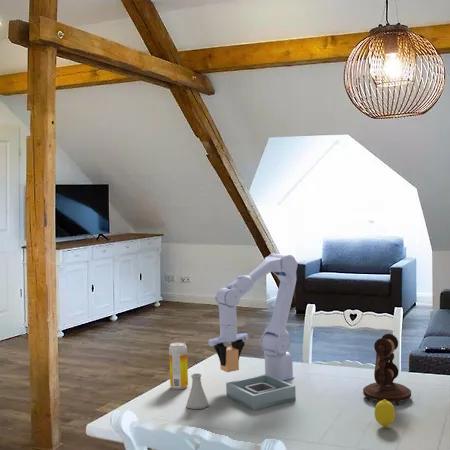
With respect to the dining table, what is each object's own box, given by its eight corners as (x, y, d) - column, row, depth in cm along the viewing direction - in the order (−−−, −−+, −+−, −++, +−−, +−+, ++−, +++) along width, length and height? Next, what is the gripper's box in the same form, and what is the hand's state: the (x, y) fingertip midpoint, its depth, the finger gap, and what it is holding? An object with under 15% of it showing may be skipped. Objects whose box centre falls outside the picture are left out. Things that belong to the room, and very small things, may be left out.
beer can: (189, 384, 227) (187, 341, 226) (186, 390, 221) (185, 346, 220) (172, 384, 227) (170, 342, 226) (169, 389, 221) (167, 346, 220)
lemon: (372, 424, 185) (371, 396, 184) (391, 423, 185) (390, 395, 185) (378, 431, 180) (378, 403, 179) (398, 430, 180) (397, 402, 179)
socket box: (266, 387, 221) (266, 374, 221) (295, 399, 208) (295, 385, 207) (226, 396, 213) (226, 382, 213) (253, 410, 199) (253, 395, 199)
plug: (231, 366, 222) (231, 346, 222) (238, 370, 218) (238, 349, 218) (220, 369, 220) (219, 348, 219) (227, 372, 216) (226, 351, 215)
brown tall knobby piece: (371, 388, 216) (370, 329, 215) (416, 394, 209) (415, 333, 207) (356, 402, 204) (355, 339, 202) (403, 409, 196) (403, 343, 195)
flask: (212, 403, 207) (211, 372, 206) (204, 410, 200) (202, 378, 200) (191, 401, 210) (189, 370, 209) (182, 408, 203) (181, 377, 202)
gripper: (240, 318, 225) (241, 357, 226) (203, 324, 218) (204, 364, 219) (251, 322, 219) (252, 362, 220) (214, 328, 212) (215, 369, 213)
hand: (229, 363), depth 219 cm, fingers closed on plug, 4 cm apart
